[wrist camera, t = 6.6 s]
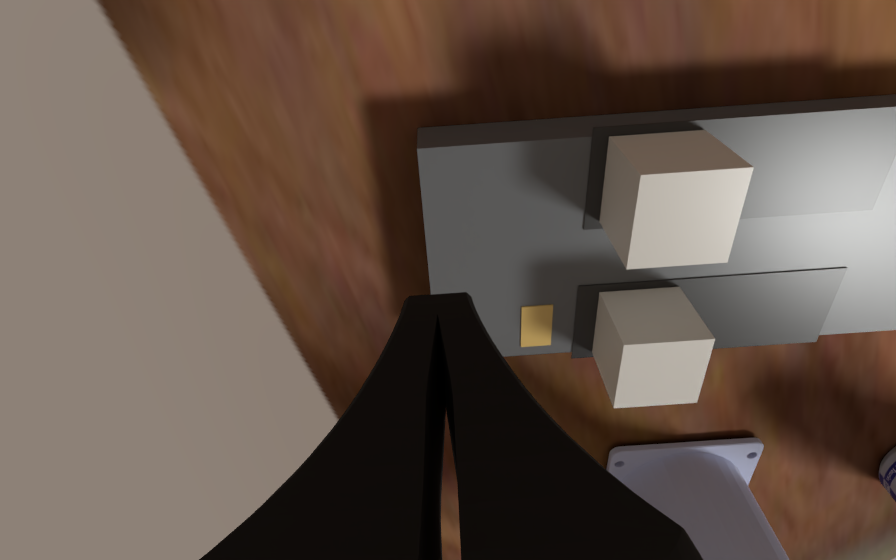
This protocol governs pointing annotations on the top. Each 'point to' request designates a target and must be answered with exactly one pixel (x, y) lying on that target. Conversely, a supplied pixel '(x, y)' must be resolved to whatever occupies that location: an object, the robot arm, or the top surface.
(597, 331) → the switch tab
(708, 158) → the switch tab
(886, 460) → the energy drink
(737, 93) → the top surface
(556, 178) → the switch panel
